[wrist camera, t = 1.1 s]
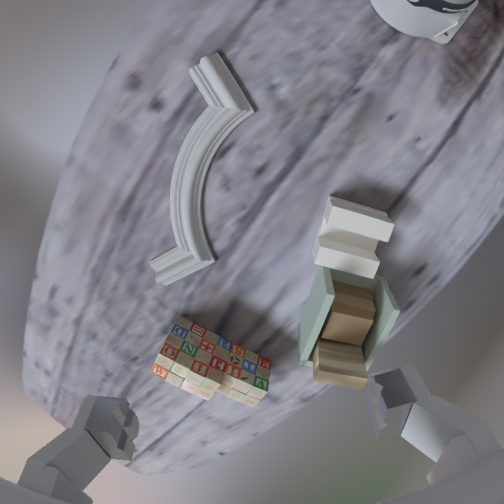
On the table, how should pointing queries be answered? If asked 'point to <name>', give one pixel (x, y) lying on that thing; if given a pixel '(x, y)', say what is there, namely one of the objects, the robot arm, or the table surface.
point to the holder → (351, 237)
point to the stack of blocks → (211, 365)
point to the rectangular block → (338, 363)
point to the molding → (199, 168)
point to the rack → (347, 313)
